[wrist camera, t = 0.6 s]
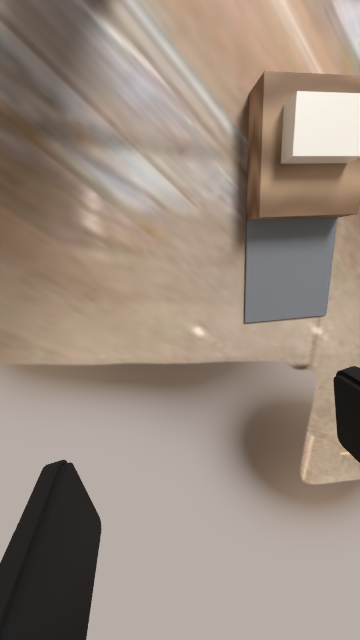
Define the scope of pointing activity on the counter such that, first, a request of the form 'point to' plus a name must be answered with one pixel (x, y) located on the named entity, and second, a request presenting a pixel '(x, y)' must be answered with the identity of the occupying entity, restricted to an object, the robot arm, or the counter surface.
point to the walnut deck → (295, 179)
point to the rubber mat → (288, 268)
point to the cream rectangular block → (321, 128)
